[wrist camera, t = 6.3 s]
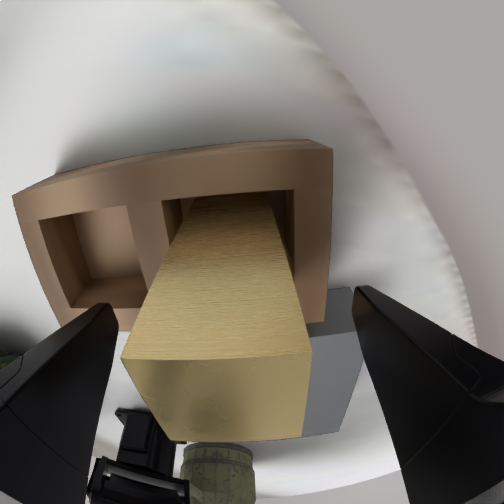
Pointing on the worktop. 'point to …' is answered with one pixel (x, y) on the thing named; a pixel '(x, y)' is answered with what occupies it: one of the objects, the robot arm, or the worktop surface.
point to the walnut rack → (170, 220)
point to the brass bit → (223, 329)
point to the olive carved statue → (219, 473)
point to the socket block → (331, 365)
